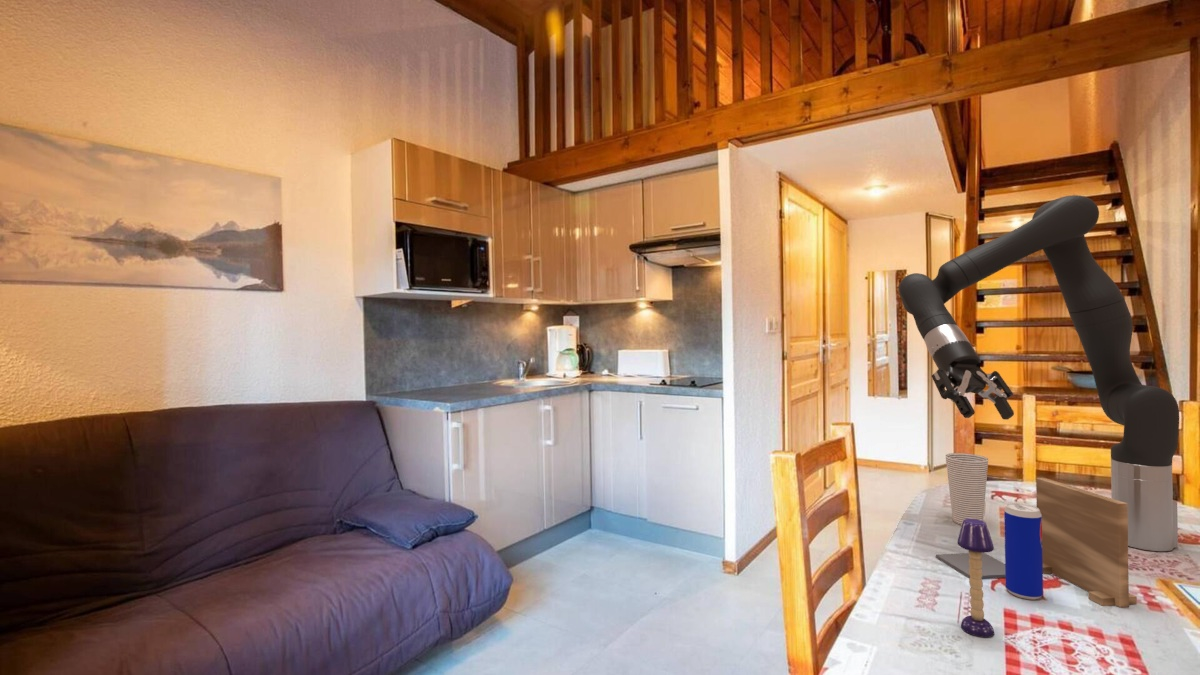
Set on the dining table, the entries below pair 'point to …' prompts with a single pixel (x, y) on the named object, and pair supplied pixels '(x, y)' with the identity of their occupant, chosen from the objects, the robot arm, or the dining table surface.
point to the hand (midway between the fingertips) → (989, 416)
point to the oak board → (1085, 541)
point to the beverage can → (1023, 551)
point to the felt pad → (961, 564)
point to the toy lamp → (976, 574)
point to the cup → (967, 485)
